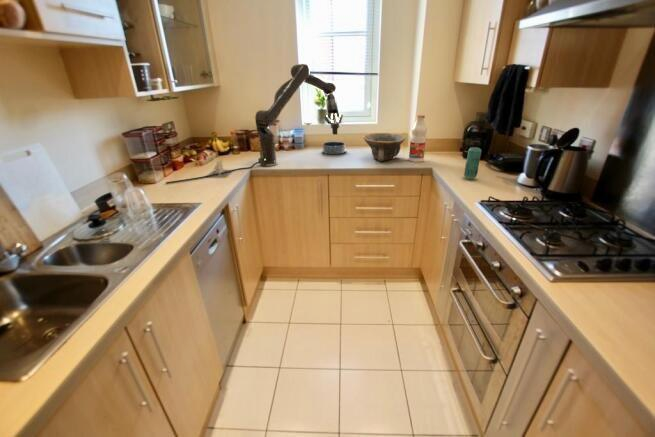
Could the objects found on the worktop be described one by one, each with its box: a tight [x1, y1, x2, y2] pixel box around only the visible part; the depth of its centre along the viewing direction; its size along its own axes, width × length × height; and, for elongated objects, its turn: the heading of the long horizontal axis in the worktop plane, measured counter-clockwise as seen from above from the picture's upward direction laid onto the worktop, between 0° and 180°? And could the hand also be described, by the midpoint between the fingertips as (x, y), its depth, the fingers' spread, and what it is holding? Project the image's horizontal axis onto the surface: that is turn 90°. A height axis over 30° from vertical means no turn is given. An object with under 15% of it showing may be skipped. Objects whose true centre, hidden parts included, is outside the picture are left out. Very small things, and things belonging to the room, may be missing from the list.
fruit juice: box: [408, 114, 428, 163], centre depth 199 cm, size 9×9×28 cm
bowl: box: [363, 132, 406, 162], centre depth 206 cm, size 27×26×15 cm
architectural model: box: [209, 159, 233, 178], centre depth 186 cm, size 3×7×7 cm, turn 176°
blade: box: [331, 118, 338, 135], centre depth 220 cm, size 3×5×10 cm, turn 9°
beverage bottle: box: [463, 140, 483, 179], centre depth 164 cm, size 6×7×20 cm
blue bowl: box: [322, 141, 347, 155], centre depth 229 cm, size 17×17×6 cm
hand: (335, 127), depth 219 cm, fingers closed on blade, 3 cm apart
